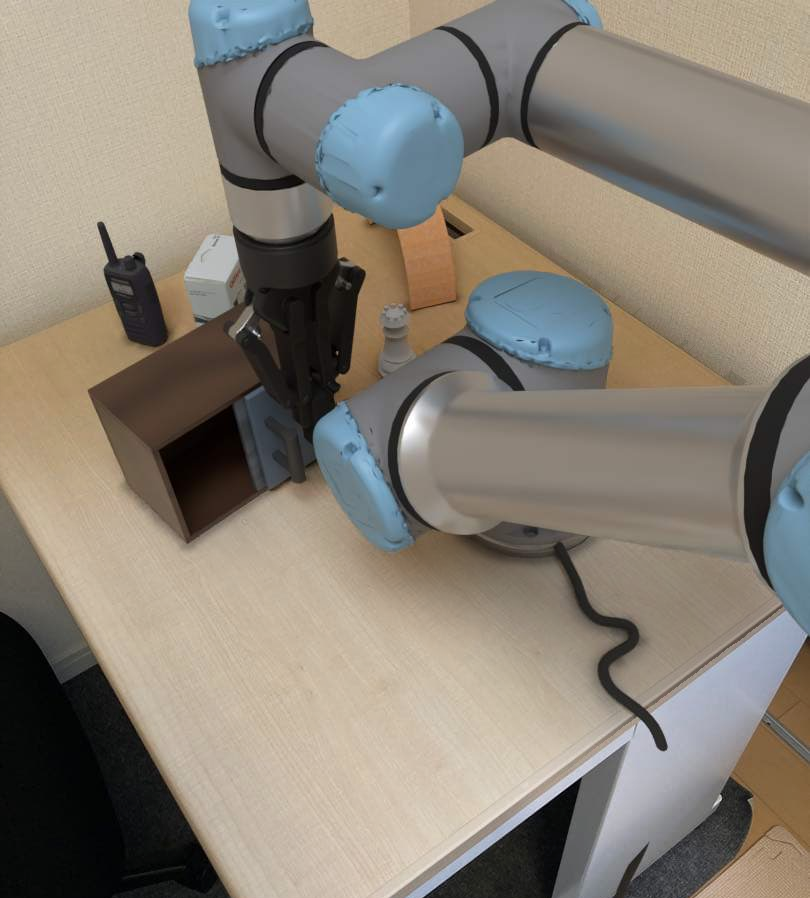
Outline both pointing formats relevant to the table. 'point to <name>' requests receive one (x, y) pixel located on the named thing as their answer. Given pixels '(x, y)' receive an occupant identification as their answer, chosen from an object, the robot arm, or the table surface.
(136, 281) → the two-way radio
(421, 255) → the orange arch bridge
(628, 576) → the table surface
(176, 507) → the cabinet
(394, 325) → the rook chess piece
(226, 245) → the ink box
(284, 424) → the sliding door
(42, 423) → the table surface
